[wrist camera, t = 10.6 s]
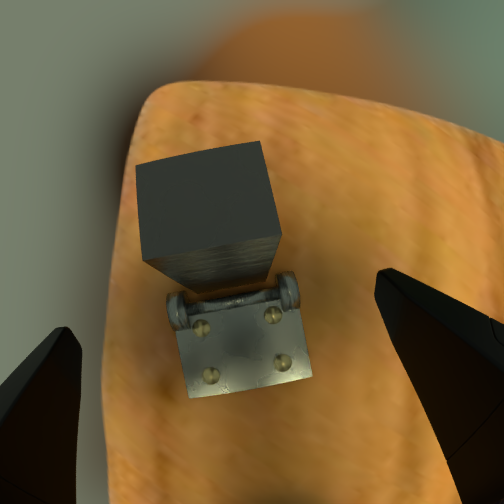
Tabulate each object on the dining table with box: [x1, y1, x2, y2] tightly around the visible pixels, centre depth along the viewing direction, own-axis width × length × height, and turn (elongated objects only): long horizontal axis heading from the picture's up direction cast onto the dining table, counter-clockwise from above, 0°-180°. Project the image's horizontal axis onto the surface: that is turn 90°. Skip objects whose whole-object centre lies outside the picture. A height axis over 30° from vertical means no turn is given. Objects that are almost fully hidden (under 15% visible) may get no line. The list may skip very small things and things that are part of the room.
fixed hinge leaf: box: [166, 271, 312, 398], centre depth 19 cm, size 7×8×2 cm
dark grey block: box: [136, 141, 282, 294], centre depth 16 cm, size 4×4×11 cm
